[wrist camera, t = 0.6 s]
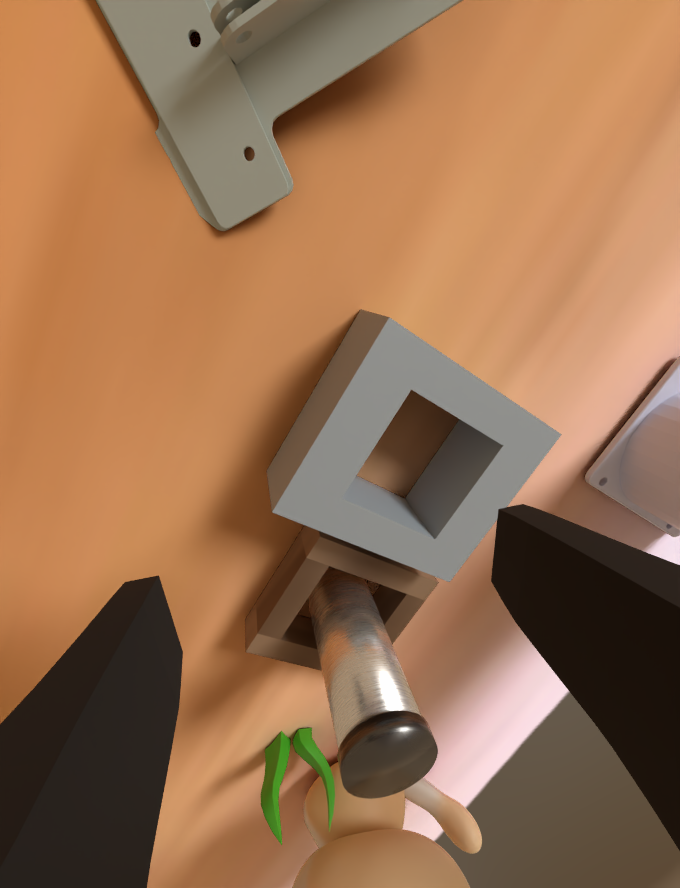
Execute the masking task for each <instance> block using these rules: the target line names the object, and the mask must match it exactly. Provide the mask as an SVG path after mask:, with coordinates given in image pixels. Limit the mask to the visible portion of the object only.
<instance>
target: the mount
mask: <svg viewBox="0 0 680 888" xmlns="http://www.w3.org/2000/svg"><path fill="white" fill-rule="evenodd" d="M329 566H331V567H333V568H336V569H339V570H342V571H344V572H347V573H350V574H353V575H356V576H358V577H361V578H364V579H367V580H369V581H372V582H375V583H378V584H381V586H380V587H379V589H378V590H377V591H376V593H375V594H374V596H373V599H374V602H375V604H376V607H377V609H378V612H379V614H380V616H381V619H382V621H383V624H384V626H385V629H386V631H387V633H388V636H389V638H390V641H391V643H392V644H393V643H394V641H395V640H396V639H397V637H398V636H399V635H400V633H401V632H402V631H403V629H404V628H405V627H406V625H407V624H408V623H409V621H410V620H411V619H412V617H413V616H414V615H415V613H416V612H417V611H418V609H419V608H420V607H421V605H422V604H423V603H424V601H425V600H426V599H427V597H428V596H429V595H430V593H431V592H432V591H433V589H434V588H435V587H436V585H437V584H438V583H439V582H438V581H437V579H436V578H435V576H432V575H430V574H427V573H425V572H422V571H420V570H417V569H415V568H412V567H410V566H407V565H405V564H402V563H399V562H397V561H394V560H392V559H389V558H387V557H384V556H382V555H379V554H377V553H374V552H372V551H369V550H366V549H364V548H361V547H359V546H356V545H354V544H351V543H349V542H346V541H344V540H341V539H339V538H336V537H333V536H331V535H328V534H326V533H323V532H321V531H318V530H316V529H313V528H311V527H308V526H306V525H304V527H303V529H302V530H301V532H300V533H299V535H298V537H297V538H296V540H295V541H294V543H293V545H292V546H291V548H290V549H289V551H288V552H287V554H286V556H285V557H284V559H283V560H282V562H281V564H280V565H279V567H278V568H277V570H276V572H275V573H274V575H273V576H272V578H271V579H270V581H269V583H268V584H267V586H266V587H265V589H264V591H263V592H262V594H261V595H260V597H259V599H258V600H257V602H256V603H255V605H254V606H253V608H252V610H251V611H250V613H249V614H248V616H247V618H246V619H245V647H246V652H247V653H251V654H255V655H260V656H264V657H268V658H272V659H276V660H280V661H284V662H289V663H293V664H297V665H301V666H305V667H309V668H313V669H318V670H322V668H321V663H320V658H319V653H318V648H317V644H316V639H315V634H314V629H313V624H312V620H311V619H310V618H307V617H303V616H300V615H297V614H298V612H299V611H300V609H301V608H302V606H303V605H304V603H305V602H306V600H307V599H308V597H309V596H310V594H311V593H312V591H313V590H314V588H315V587H316V585H317V584H318V582H319V581H320V579H321V578H322V576H323V575H324V573H325V572H326V570H327V569H328V567H329Z"/></svg>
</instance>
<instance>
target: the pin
mask: <svg viewBox="0 0 680 888" xmlns="http://www.w3.org/2000/svg"><path fill="white" fill-rule="evenodd" d="M307 600H308V605H309V610H310V615H311V620H312V624H313V629H314V634H315V639H316V644H317V648H318V653H319V658H320V663H321V668H322V673H323V677H324V682H325V687H326V692H327V697H328V701H329V706H330V711H331V716H332V721H333V725H334V730H335V735H336V740H337V745H338V754H337V759H338V764H339V769H340V774H341V779H342V783H343V786H344V788H345V790H346V791H347V792H348V793H350V794H351V795H353V796H356V797H359V798H367V799H373V798H382V797H386V796H390V795H393V794H396V793H398V792H401V791H403V790H405V789H407V788H409V787H410V786H412V785H414V784H415V783H417V782H418V781H419V780H420V779H422V778H423V777H424V776H425V775H426V774H427V773H428V772H429V770H430V769H431V768H432V766H433V765H434V763H435V761H436V758H437V753H438V749H437V745H436V742H435V740H434V737H433V735H432V733H431V730H430V728H429V725H428V723H427V721H426V720H425V719H424V718H423V717H422V716H421V713H420V711H419V709H418V706H417V704H416V701H415V699H414V697H413V694H412V692H411V689H410V687H409V684H408V682H407V680H406V677H405V675H404V672H403V670H402V667H401V665H400V663H399V660H398V658H397V655H396V653H395V650H394V648H393V646H392V643H391V641H390V638H389V636H388V633H387V631H386V629H385V626H384V624H383V621H382V619H381V616H380V614H379V612H378V609H377V607H376V604H375V602H374V599H373V597H372V595H371V592H370V590H369V587H368V585H367V583H366V580H365V579H364V578H361V577H358V576H356V575H353V574H350V573H347V572H344V571H342V570H339V569H336V568H333V567H331V566H329V567H328V569H327V570H326V572H325V573H324V575H323V576H322V578H321V579H320V581H319V582H318V584H317V585H316V587H315V588H314V590H313V591H312V593H311V594H310V596H309V597H308V599H307Z"/></svg>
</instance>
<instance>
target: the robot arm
mask: <svg viewBox="0 0 680 888" xmlns="http://www.w3.org/2000/svg"><path fill="white" fill-rule="evenodd" d="M585 481H586V482H587V483H588V484H590V485H591V486H593V487H595V488H596V489H598V490H599V491H601V492H602V493H604V494H606V495H607V496H609V497H610V498H612V499H614V500H615V501H617V502H618V503H620V504H621V505H623V506H625V507H626V508H628V509H629V510H631V511H633V512H634V513H636V514H637V515H639V516H640V517H642V518H644V519H645V520H647V521H648V522H650V523H651V524H653V525H655V526H656V527H658V528H659V529H661V530H663V531H664V532H666V533H667V534H669V535H671V536H672V537H677V536H679V535H680V356H679V357H678V358H677V359H676V360H675V362H674V363H673V364H672V365H671V367H670V368H669V369H668V371H667V372H666V373H665V374H664V376H663V377H662V378H661V379H660V381H659V382H658V383H657V384H656V386H655V387H654V388H653V389H652V391H651V392H650V393H649V394H648V396H647V397H646V398H645V400H644V401H643V402H642V403H641V405H640V406H639V407H638V408H637V410H636V411H635V412H634V413H633V415H632V416H631V417H630V418H629V420H628V421H627V422H626V423H625V425H624V426H623V427H622V428H621V430H620V431H619V432H618V434H617V435H616V436H615V437H614V439H613V440H612V441H611V442H610V444H609V445H608V446H607V447H606V449H605V450H604V451H603V452H602V454H601V455H600V456H599V457H598V459H597V460H596V461H595V462H594V464H593V465H592V466H591V468H590V469H589V470H588V471H587V473H586V475H585ZM491 582H492V583H493V585H494V587H495V589H496V590H497V592H498V594H499V596H500V597H501V599H502V601H503V602H504V604H505V606H506V607H507V609H508V611H509V612H510V614H511V615H512V617H513V619H514V620H515V622H516V623H517V624H518V626H519V627H520V628H521V630H522V631H523V632H524V634H525V635H526V636H527V638H528V639H529V640H530V642H531V643H532V644H533V645H534V647H535V648H536V649H537V651H538V652H539V653H540V654H541V656H542V657H543V658H544V660H545V661H546V662H547V663H548V665H549V666H550V667H551V668H552V670H553V671H554V672H555V674H556V675H557V676H558V677H559V679H560V680H561V681H562V682H563V684H564V685H565V686H566V687H567V689H568V690H569V691H570V693H571V694H572V695H573V696H574V698H575V699H576V700H577V701H578V703H579V704H580V705H581V707H582V708H583V709H584V710H585V711H586V713H587V714H588V715H589V717H590V718H591V719H592V721H593V722H594V723H595V724H596V726H597V727H598V728H599V730H600V731H601V733H602V734H603V735H604V737H605V738H606V739H607V741H608V742H609V744H610V745H611V746H612V748H613V749H614V751H615V752H616V753H617V755H618V757H619V758H620V760H621V761H622V762H623V764H624V765H625V767H626V769H627V770H628V771H629V773H630V774H631V776H632V777H633V779H634V780H635V782H636V784H637V785H638V787H639V788H640V790H641V791H642V793H643V794H644V796H645V797H646V799H647V800H648V802H649V803H650V805H651V806H652V808H653V809H654V811H655V812H656V814H657V815H658V817H659V819H660V820H661V822H662V824H663V825H664V827H665V828H666V830H667V831H668V833H669V834H670V836H671V838H672V839H673V841H674V843H675V844H676V846H677V847H678V849H679V850H680V565H677V564H675V563H672V562H669V561H667V560H664V559H661V558H659V557H656V556H654V555H651V554H648V553H646V552H643V551H641V550H638V549H636V548H633V547H631V546H628V545H626V544H623V543H621V542H618V541H616V540H613V539H611V538H608V537H606V536H604V535H601V534H599V533H596V532H594V531H591V530H589V529H587V528H584V527H582V526H579V525H577V524H574V523H572V522H570V521H567V520H565V519H562V518H560V517H557V516H555V515H552V514H549V513H547V512H544V511H542V510H539V509H536V508H533V507H530V506H527V505H524V504H522V505H516V506H511V507H506V508H501V509H498V518H497V528H496V538H495V548H494V558H493V568H492V578H491ZM182 656H183V651H182V648H181V645H180V642H179V638H178V635H177V632H176V629H175V626H174V622H173V619H172V616H171V613H170V610H169V607H168V603H167V600H166V597H165V594H164V591H163V588H162V584H161V581H160V578H159V576H154V577H149V578H144V579H139V580H134V581H129V582H125V583H124V584H123V585H122V586H121V587H120V589H119V590H118V591H117V592H116V593H115V594H114V595H113V597H112V598H111V599H110V600H109V601H108V602H107V604H106V605H105V606H104V607H103V608H102V610H101V611H100V612H99V613H98V614H97V616H96V617H95V618H94V619H93V620H92V622H91V623H90V624H89V625H88V626H87V627H86V629H85V630H84V631H83V632H82V633H81V635H80V636H79V637H78V638H77V639H76V640H75V642H74V643H73V644H72V645H71V646H70V647H69V649H68V650H67V651H66V652H65V653H64V654H63V655H62V657H61V658H60V659H59V660H58V661H57V662H56V664H55V665H54V666H53V667H52V668H51V669H50V671H49V672H48V673H47V674H46V675H45V676H44V677H43V679H42V680H41V681H40V682H39V683H38V684H37V685H36V687H35V688H34V689H33V690H32V691H31V692H30V693H29V694H28V695H27V696H26V697H25V698H24V699H23V701H22V702H21V703H20V704H19V705H18V706H17V707H16V708H15V709H14V710H13V711H12V712H11V713H10V715H9V716H8V717H7V718H6V719H5V720H4V721H3V722H2V723H1V724H0V888H147V882H148V875H149V869H150V862H151V857H152V851H153V846H154V841H155V835H156V830H157V824H158V819H159V814H160V808H161V803H162V798H163V792H164V787H165V781H166V776H167V771H168V765H169V760H170V754H171V749H172V743H173V738H174V732H175V727H176V721H177V715H178V710H179V700H180V687H181V673H182Z"/></svg>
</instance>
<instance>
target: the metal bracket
mask: <svg viewBox="0 0 680 888" xmlns="http://www.w3.org/2000/svg"><path fill="white" fill-rule="evenodd" d="M461 1H463V0H96V2H97V4H98V6H99V8H100V9H101V11H102V13H103V15H104V17H105V19H106V21H107V22H108V24H109V26H110V28H111V30H112V32H113V33H114V35H115V37H116V39H117V41H118V43H119V45H120V46H121V48H122V50H123V52H124V54H125V56H126V58H127V59H128V61H129V63H130V65H131V67H132V69H133V70H134V72H135V74H136V76H137V78H138V80H139V82H140V83H141V85H142V87H143V89H144V91H145V93H146V94H147V96H148V98H149V100H150V102H151V104H152V106H153V107H154V109H155V111H156V113H157V116H158V119H159V127H158V129H157V130H156V132H155V133H156V135H157V137H158V139H159V141H160V143H161V144H162V146H163V148H164V150H165V152H166V154H167V155H168V157H169V158H170V160H171V163H172V165H173V167H174V169H175V170H176V172H177V174H178V176H179V178H180V180H181V182H182V183H183V185H184V187H185V189H186V191H187V193H188V195H189V196H190V198H191V200H192V202H193V204H194V206H195V207H196V209H197V211H198V213H199V215H200V216H201V217H202V218H203V219H205V220H206V221H207V222H208V223H210V224H211V225H212V226H213V227H215V228H216V229H218V230H219V231H226V230H229V229H231V228H232V227H234V226H236V225H238V224H239V223H241V222H243V221H245V220H246V219H248V218H250V217H252V216H253V215H255V214H257V213H259V212H260V211H262V210H264V209H265V208H267V207H269V206H271V205H272V204H274V203H276V202H278V201H279V200H281V199H283V198H285V197H286V196H288V195H289V194H290V193H291V192H292V189H293V180H292V177H291V175H290V173H289V170H288V168H287V166H286V164H285V161H284V159H283V157H282V155H281V152H280V150H279V148H278V146H277V143H276V141H275V139H274V137H273V132H272V126H273V122H274V121H275V120H276V119H277V117H279V116H281V115H282V114H284V113H285V112H287V111H288V110H290V109H292V108H293V107H295V106H296V105H298V104H300V103H301V102H303V101H304V100H306V99H307V98H309V97H311V96H312V95H314V94H315V93H317V92H319V91H320V90H322V89H323V88H325V87H327V86H328V85H330V84H331V83H333V82H334V81H336V80H338V79H339V78H341V77H342V76H344V75H346V74H347V73H349V72H350V71H352V70H353V69H355V68H357V67H358V66H360V65H361V64H363V63H365V62H366V61H368V60H369V59H371V58H372V57H374V56H376V55H377V54H379V53H380V52H382V51H384V50H385V49H387V48H388V47H390V46H392V45H393V44H395V43H396V42H398V41H399V40H401V39H403V38H404V37H406V36H407V35H409V34H411V33H412V32H414V31H415V30H417V29H418V28H420V27H422V26H423V25H425V24H426V23H428V22H430V21H431V20H433V19H434V18H436V17H437V16H439V15H441V14H442V13H444V12H445V11H447V10H449V9H450V8H452V7H453V6H455V5H457V4H458V3H460V2H461ZM192 32H198V33H199V34H200V37H201V43H200V45H199V46H198V47H193V46H192V45H191V43H190V35H191V34H192ZM248 147H251V148H253V150H254V152H255V157H254V159H253V160H252V161H247V160H246V158H245V156H244V152H245V150H246V148H248Z"/></svg>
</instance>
